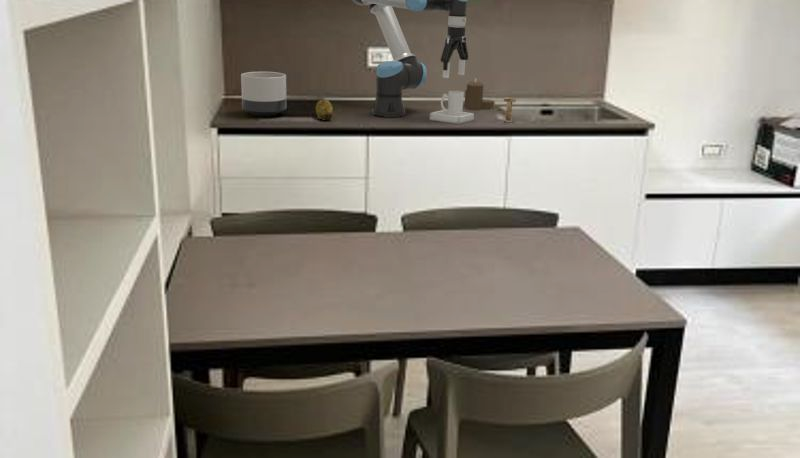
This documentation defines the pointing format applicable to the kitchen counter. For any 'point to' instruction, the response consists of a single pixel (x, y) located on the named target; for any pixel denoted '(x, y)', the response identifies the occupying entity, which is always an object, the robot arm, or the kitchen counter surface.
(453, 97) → the mug
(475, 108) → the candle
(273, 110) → the planter
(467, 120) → the tray
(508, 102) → the post
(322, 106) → the potato
